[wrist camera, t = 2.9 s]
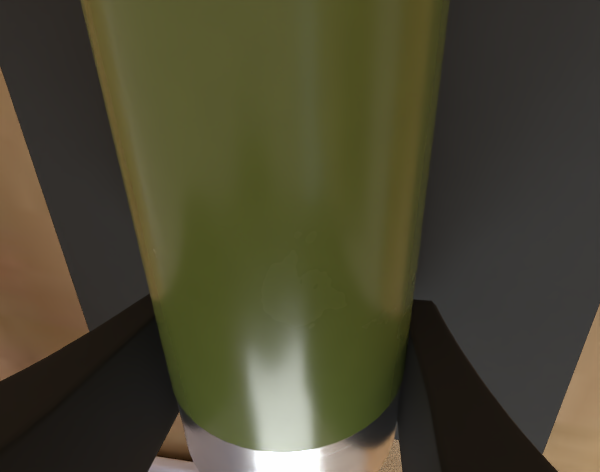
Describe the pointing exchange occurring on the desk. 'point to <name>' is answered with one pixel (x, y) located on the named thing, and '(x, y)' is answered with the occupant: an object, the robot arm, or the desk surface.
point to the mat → (439, 197)
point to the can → (277, 211)
